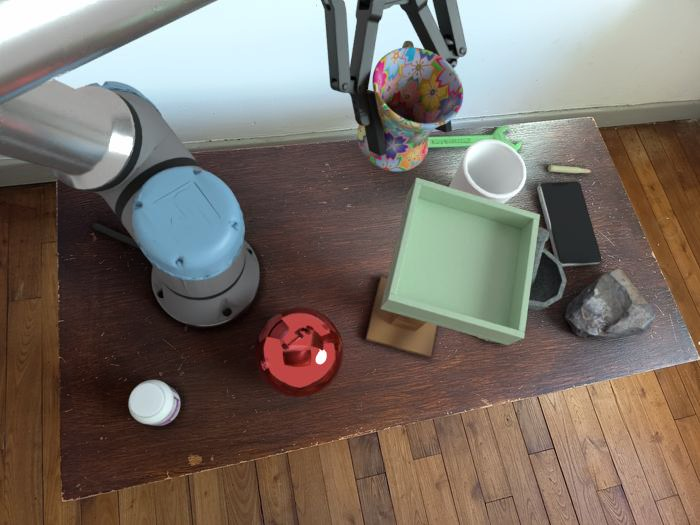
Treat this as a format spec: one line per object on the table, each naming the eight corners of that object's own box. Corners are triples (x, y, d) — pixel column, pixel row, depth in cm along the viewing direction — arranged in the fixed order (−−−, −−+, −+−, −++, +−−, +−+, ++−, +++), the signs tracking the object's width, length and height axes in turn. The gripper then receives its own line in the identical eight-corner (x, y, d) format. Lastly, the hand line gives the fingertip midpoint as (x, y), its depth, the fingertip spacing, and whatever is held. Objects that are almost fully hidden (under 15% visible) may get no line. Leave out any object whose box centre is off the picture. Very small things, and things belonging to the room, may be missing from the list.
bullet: (549, 172, 95) (591, 175, 96) (552, 166, 94) (593, 169, 95) (547, 169, 96) (588, 172, 97) (549, 163, 95) (591, 167, 96)
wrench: (520, 122, 95) (526, 149, 94) (515, 128, 97) (521, 154, 96) (384, 126, 91) (388, 154, 89) (381, 132, 93) (386, 160, 91)
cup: (443, 171, 92) (469, 129, 80) (496, 189, 92) (531, 150, 80) (430, 221, 88) (456, 185, 76) (486, 240, 89) (521, 207, 77)
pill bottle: (133, 398, 72) (114, 391, 63) (170, 378, 74) (157, 368, 65) (150, 434, 71) (134, 431, 62) (187, 413, 73) (177, 407, 64)
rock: (603, 263, 91) (623, 252, 86) (654, 312, 89) (678, 303, 84) (553, 318, 86) (571, 310, 81) (606, 371, 84) (628, 365, 79)
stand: (364, 339, 80) (404, 295, 58) (379, 278, 84) (422, 214, 61) (428, 357, 81) (491, 320, 58) (440, 296, 84) (504, 239, 62)
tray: (380, 309, 57) (387, 299, 53) (407, 193, 62) (416, 177, 58) (508, 345, 58) (524, 338, 54) (524, 228, 63) (540, 214, 59)
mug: (432, 180, 62) (468, 130, 52) (353, 176, 60) (375, 122, 50) (424, 93, 66) (456, 30, 56) (349, 86, 64) (369, 19, 54)
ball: (251, 400, 75) (248, 390, 63) (258, 316, 79) (257, 293, 68) (336, 403, 76) (348, 394, 65) (339, 321, 80) (351, 299, 69)
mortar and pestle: (550, 313, 86) (593, 292, 75) (497, 322, 84) (533, 302, 73) (530, 248, 89) (568, 219, 78) (478, 256, 88) (510, 227, 76)
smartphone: (559, 265, 88) (538, 183, 92) (555, 267, 89) (535, 186, 93) (603, 261, 89) (580, 181, 94) (599, 264, 90) (576, 184, 95)
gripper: (446, -118, 53) (467, 109, 65) (255, -80, 48) (313, 162, 59) (495, -135, 47) (508, 119, 58) (281, -94, 42) (341, 179, 53)
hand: (410, 140), depth 59 cm, fingers closed on mug, 7 cm apart
